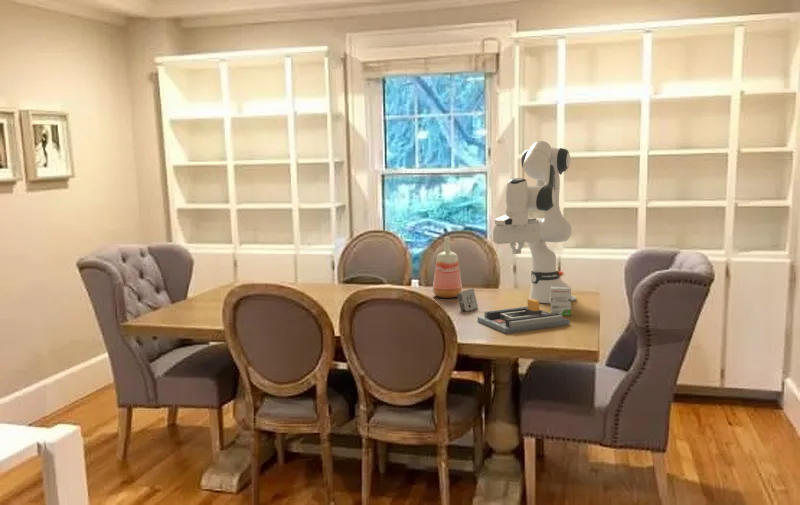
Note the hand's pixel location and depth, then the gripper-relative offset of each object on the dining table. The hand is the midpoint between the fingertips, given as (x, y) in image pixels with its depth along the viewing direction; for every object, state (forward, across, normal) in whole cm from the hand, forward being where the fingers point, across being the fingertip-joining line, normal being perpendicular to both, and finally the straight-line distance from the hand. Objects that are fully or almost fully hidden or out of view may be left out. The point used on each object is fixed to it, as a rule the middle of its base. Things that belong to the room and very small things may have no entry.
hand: (516, 253), depth 268 cm
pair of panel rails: (+27, -3, 0) cm, 27 cm away
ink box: (+29, -26, -6) cm, 40 cm away
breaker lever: (+27, -8, 0) cm, 28 cm away
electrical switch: (+29, +5, -33) cm, 44 cm away
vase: (+29, 0, -63) cm, 69 cm away
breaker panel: (+29, -3, 0) cm, 29 cm away
